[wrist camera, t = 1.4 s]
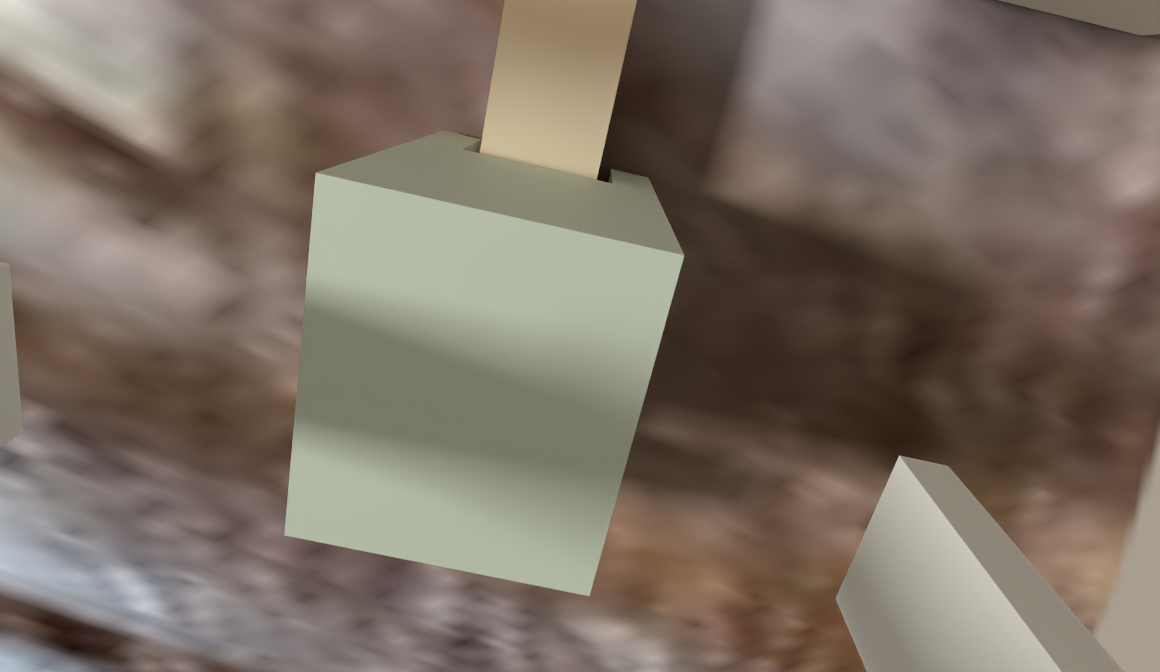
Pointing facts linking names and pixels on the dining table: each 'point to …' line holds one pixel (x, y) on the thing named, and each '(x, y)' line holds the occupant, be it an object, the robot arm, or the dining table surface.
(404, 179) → the block
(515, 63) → the rail
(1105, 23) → the white tall block
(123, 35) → the dining table surface
